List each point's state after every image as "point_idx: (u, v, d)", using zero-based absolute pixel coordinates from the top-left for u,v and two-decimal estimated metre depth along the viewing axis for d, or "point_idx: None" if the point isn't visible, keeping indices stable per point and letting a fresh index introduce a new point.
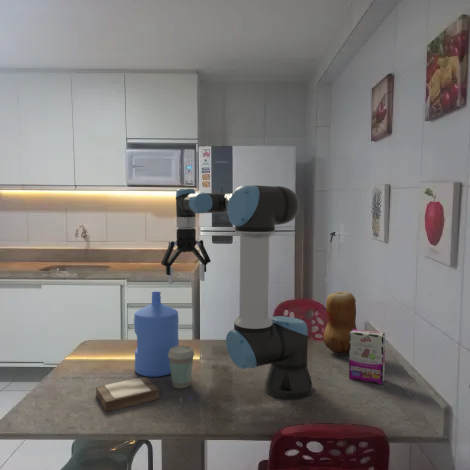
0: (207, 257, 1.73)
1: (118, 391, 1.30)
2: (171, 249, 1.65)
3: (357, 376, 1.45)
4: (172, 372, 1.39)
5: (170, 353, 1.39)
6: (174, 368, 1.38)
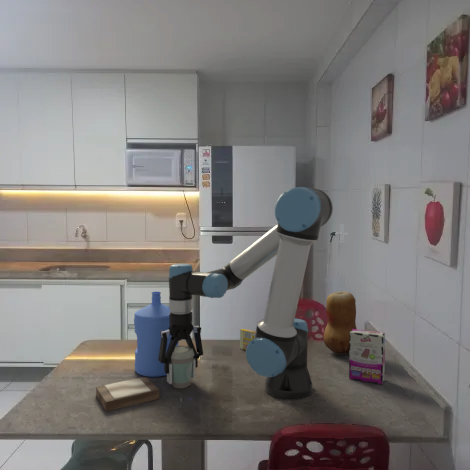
0: (200, 349, 1.43)
1: (118, 391, 1.30)
2: (165, 342, 1.36)
3: (357, 376, 1.45)
4: (172, 372, 1.39)
5: None
6: (174, 368, 1.38)
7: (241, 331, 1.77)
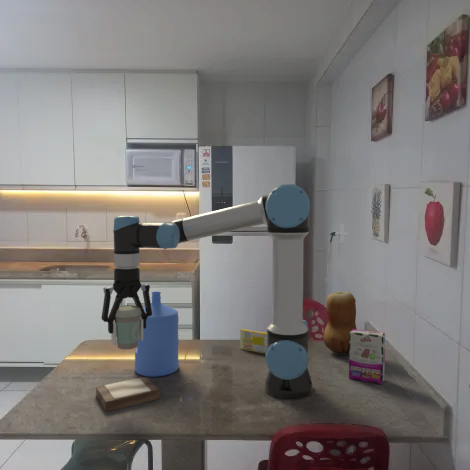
0: (149, 309, 1.33)
1: (118, 391, 1.30)
2: (108, 299, 1.26)
3: (357, 376, 1.45)
4: (117, 332, 1.29)
5: None
6: (118, 327, 1.28)
7: (241, 331, 1.77)
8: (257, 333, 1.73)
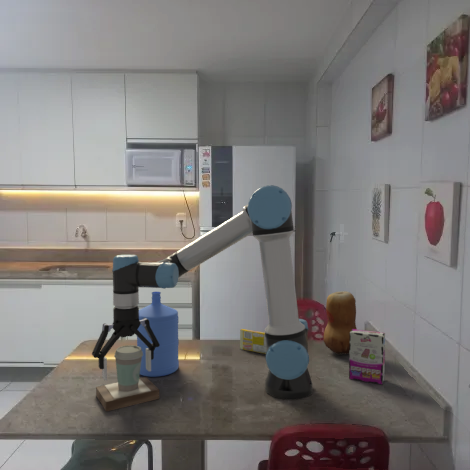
0: (155, 340, 1.35)
1: (118, 391, 1.30)
2: (105, 336, 1.26)
3: (357, 376, 1.45)
4: (118, 373, 1.30)
5: (116, 353, 1.29)
6: (119, 369, 1.29)
7: (241, 331, 1.77)
8: (257, 333, 1.73)
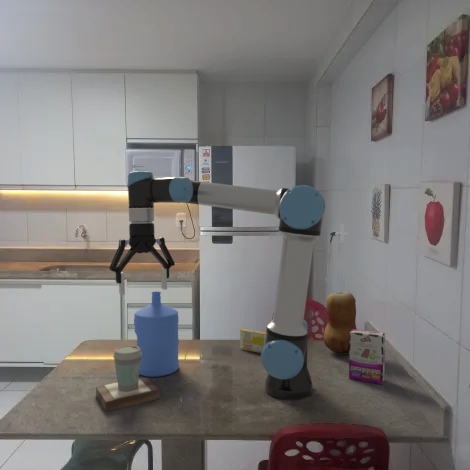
0: (170, 259, 1.36)
1: (118, 391, 1.30)
2: (122, 250, 1.27)
3: (357, 376, 1.45)
4: (117, 374, 1.30)
5: (115, 353, 1.29)
6: (119, 369, 1.29)
7: (241, 331, 1.77)
8: (257, 333, 1.73)
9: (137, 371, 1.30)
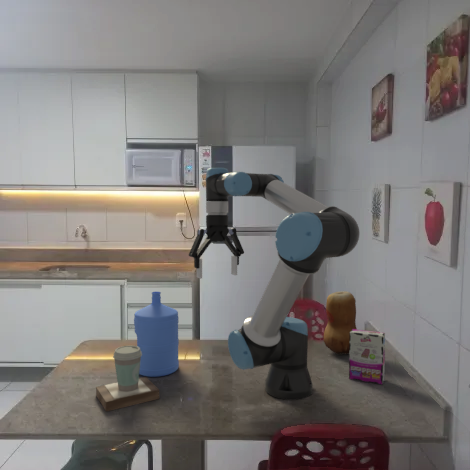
0: (240, 248, 1.50)
1: (118, 391, 1.30)
2: (201, 238, 1.42)
3: (357, 376, 1.45)
4: (117, 374, 1.29)
5: (115, 354, 1.29)
6: (119, 369, 1.29)
7: None
8: None
9: (137, 371, 1.30)
